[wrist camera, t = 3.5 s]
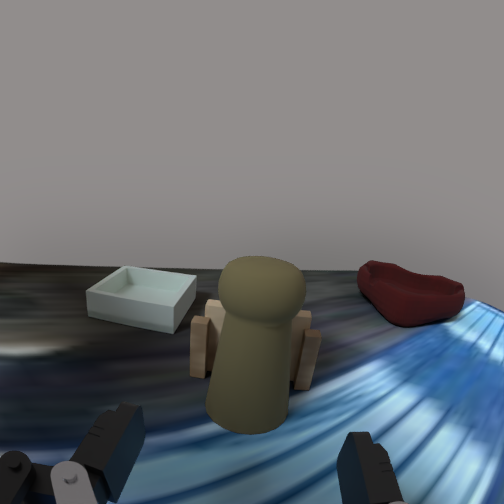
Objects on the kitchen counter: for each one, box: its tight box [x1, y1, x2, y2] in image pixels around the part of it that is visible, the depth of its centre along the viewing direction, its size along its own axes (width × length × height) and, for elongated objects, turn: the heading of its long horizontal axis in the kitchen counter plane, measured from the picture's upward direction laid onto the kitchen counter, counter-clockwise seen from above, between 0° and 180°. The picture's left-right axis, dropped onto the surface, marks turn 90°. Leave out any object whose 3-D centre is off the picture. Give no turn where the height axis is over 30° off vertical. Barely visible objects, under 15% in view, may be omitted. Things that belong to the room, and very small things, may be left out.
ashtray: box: [357, 261, 465, 327], centre depth 42 cm, size 18×16×5 cm
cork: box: [205, 256, 306, 435], centre depth 20 cm, size 6×6×11 cm
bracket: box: [190, 299, 322, 390], centre depth 25 cm, size 10×5×9 cm, turn 87°
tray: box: [86, 266, 197, 334], centre depth 35 cm, size 10×10×3 cm
